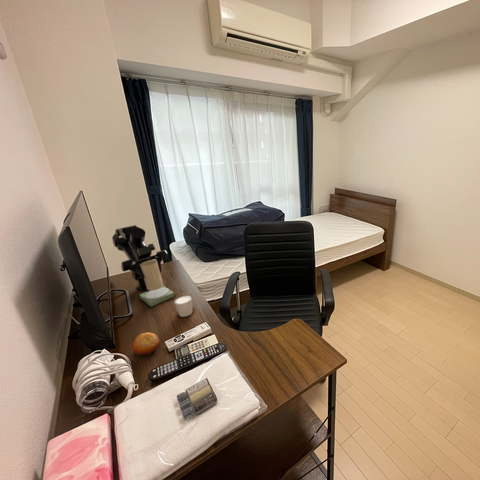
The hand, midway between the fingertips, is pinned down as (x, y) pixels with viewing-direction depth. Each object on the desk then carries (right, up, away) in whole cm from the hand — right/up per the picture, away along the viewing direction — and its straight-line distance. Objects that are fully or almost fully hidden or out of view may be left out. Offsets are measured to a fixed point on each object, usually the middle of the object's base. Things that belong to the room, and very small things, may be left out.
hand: (152, 275), depth 121 cm
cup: (-1, -6, +3) cm, 7 cm away
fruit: (+16, -25, -27) cm, 40 cm away
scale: (-1, -12, +6) cm, 14 cm away
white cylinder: (+19, -17, -6) cm, 26 cm away
